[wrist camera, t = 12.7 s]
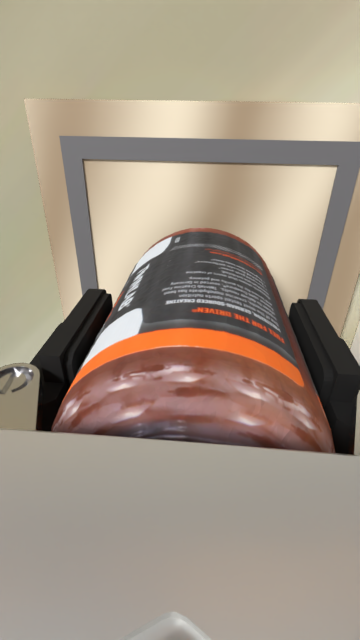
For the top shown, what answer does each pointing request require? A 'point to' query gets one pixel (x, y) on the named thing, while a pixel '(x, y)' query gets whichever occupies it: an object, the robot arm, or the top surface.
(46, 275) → the top surface
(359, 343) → the ink pad
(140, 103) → the marked board
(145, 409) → the supplement bottle
